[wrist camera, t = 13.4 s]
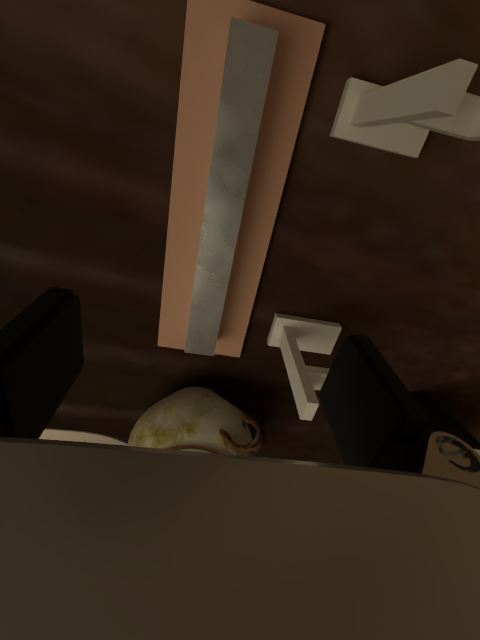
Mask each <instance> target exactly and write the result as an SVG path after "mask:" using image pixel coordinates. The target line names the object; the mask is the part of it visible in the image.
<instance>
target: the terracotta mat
mask: <svg viewBox="0 0 480 640" xmlns="http://www.w3.org/2000/svg"><path fill="white" fill-rule="evenodd" d="M231 17H234V18H238V19H241V20H244V21H248V22H251V23H254V24H258V25H261V26H264V27H268V28H271V29H274V30H278V31H279V34H278V39H277V44H276V49H275V54H274V59H273V64H272V69H271V74H270V79H269V84H268V89H267V93H266V98H265V103H264V108H263V113H262V118H261V123H260V128H259V133H258V138H257V143H256V148H255V153H254V158H253V163H252V168H251V173H250V178H249V183H248V188H247V193H246V198H245V203H244V208H243V213H242V218H241V223H240V228H239V233H238V238H237V243H236V248H235V253H234V258H233V263H232V268H231V272H230V277H229V282H228V287H227V292H226V297H225V302H224V307H223V312H222V317H221V322H220V327H219V332H218V337H217V342H216V347H215V352H214V354H219V355H227V356H234V357H240V354H241V350H242V346H243V342H244V338H245V335H246V331H247V327H248V323H249V319H250V315H251V311H252V308H253V304H254V300H255V296H256V292H257V288H258V284H259V281H260V277H261V273H262V269H263V265H264V261H265V257H266V253H267V250H268V246H269V242H270V238H271V234H272V230H273V226H274V223H275V219H276V215H277V211H278V207H279V203H280V199H281V196H282V192H283V188H284V184H285V180H286V176H287V172H288V168H289V165H290V161H291V157H292V153H293V149H294V145H295V141H296V138H297V134H298V130H299V126H300V122H301V118H302V114H303V110H304V107H305V103H306V99H307V95H308V91H309V87H310V83H311V80H312V76H313V72H314V68H315V64H316V60H317V56H318V53H319V49H320V45H321V41H322V37H323V33H324V29H325V25H326V24H323V23H320V22H317V21H314V20H311V19H307V18H304V17H301V16H298V15H295V14H291V13H288V12H285V11H282V10H279V9H276V8H272V7H269V6H266V5H263V4H260V3H256V2H253V1H250V0H188V2H187V13H186V25H185V36H184V48H183V59H182V71H181V82H180V94H179V105H178V117H177V129H176V140H175V152H174V163H173V175H172V186H171V198H170V209H169V221H168V232H167V244H166V255H165V267H164V278H163V290H162V301H161V313H160V324H159V336H158V346H163V347H170V348H177V349H184V350H185V344H186V337H187V330H188V323H189V316H190V308H191V301H192V294H193V287H194V280H195V272H196V265H197V258H198V251H199V244H200V237H201V229H202V222H203V215H204V208H205V201H206V194H207V186H208V179H209V172H210V165H211V158H212V151H213V143H214V136H215V129H216V122H217V115H218V108H219V100H220V93H221V86H222V79H223V72H224V64H225V57H226V50H227V43H228V36H229V29H230V21H231Z"/></svg>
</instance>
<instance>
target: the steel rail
mask: <svg viewBox="0 0 480 640" xmlns="http://www.w3.org/2000/svg"><path fill="white" fill-rule="evenodd" d="M278 34H279V31H278V30H274V29H271V28H268V27H264V26H261V25H258V24H254V23H251V22H248V21H244V20H241V19H238V18H234V17H231V21H230V29H229V36H228V43H227V50H226V57H225V64H224V72H223V79H222V86H221V93H220V100H219V108H218V115H217V122H216V129H215V136H214V143H213V151H212V158H211V165H210V172H209V179H208V186H207V194H206V201H205V208H204V215H203V222H202V229H201V237H200V244H199V251H198V258H197V265H196V272H195V280H194V287H193V294H192V301H191V308H190V316H189V323H188V330H187V337H186V344H185V351H184V352H187V353H194V354H202V355H209V356H214V352H215V347H216V342H217V337H218V332H219V327H220V322H221V317H222V312H223V307H224V302H225V297H226V292H227V287H228V282H229V277H230V272H231V268H232V263H233V258H234V253H235V248H236V243H237V238H238V233H239V228H240V223H241V218H242V213H243V208H244V203H245V198H246V193H247V188H248V183H249V178H250V173H251V168H252V163H253V158H254V153H255V148H256V143H257V138H258V133H259V128H260V123H261V118H262V113H263V108H264V103H265V98H266V93H267V89H268V84H269V79H270V74H271V69H272V64H273V59H274V54H275V49H276V44H277V39H278Z"/></svg>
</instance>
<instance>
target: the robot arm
mask: <svg viewBox="0 0 480 640" xmlns="http://www.w3.org/2000/svg"><path fill="white" fill-rule="evenodd" d="M83 362H84V357H83V343H82V329H81V315H80V301H79V297H78V296H77V295H74V293H73V291H72V290H68V289H62V288H56V287H51V288H49V289H48V290H47V291H46V292H45V293H43V294H42V295H41V296H40V297H39V298H37V299H36V300H35V301H34V302H33V303H32V304H30V305H29V306H28V307H27V308H26V309H24V310H23V311H22V312H21V313H20V314H19V315H17V316H16V317H15V318H14V319H13V320H11V321H10V322H9V323H8V324H7V325H6V326H4V327H3V328H2V329H1V330H0V640H480V455H479V454H478V453H477V452H476V451H475V450H474V449H473V448H472V447H471V446H469V445H468V444H467V443H466V442H464V441H463V440H461V439H459V438H458V437H456V436H454V435H452V434H449V433H445V432H438V431H436V432H434V433H432V434H430V432H429V431H428V427H429V426H430V425H431V423H432V422H431V421H430V420H429V418H428V417H427V416H426V414H425V413H424V412H423V410H422V409H421V408H420V406H419V405H418V403H417V402H416V401H415V399H414V398H413V397H412V395H411V394H410V393H409V391H408V390H407V389H406V387H405V386H404V385H403V383H402V382H401V380H400V379H399V378H398V376H397V375H396V374H395V372H394V371H393V370H392V368H391V367H390V366H389V364H388V363H387V361H386V360H385V359H384V357H383V356H382V355H381V353H380V352H379V351H378V349H377V348H376V347H375V345H374V344H373V343H372V341H371V340H370V338H368V337H367V336H361V335H354V334H352V335H350V336H349V337H346V338H345V339H344V340H343V342H342V344H341V346H340V349H339V351H338V353H337V355H336V357H335V359H334V361H333V364H332V366H331V368H330V370H329V372H328V374H327V377H326V379H325V381H324V383H323V385H322V387H321V390H320V401H321V403H322V406H323V409H324V411H325V414H326V417H327V419H328V422H329V425H330V427H331V430H332V433H333V435H334V438H335V441H336V443H337V446H338V449H339V451H340V454H341V457H342V460H343V462H344V465H339V464H328V463H318V462H307V461H296V460H286V459H275V458H264V457H252V456H241V455H230V454H218V453H207V452H195V451H184V450H172V449H160V448H148V447H136V446H124V445H110V444H99V443H87V442H73V441H59V440H44V439H39V437H40V436H41V434H42V432H43V431H44V429H45V428H46V426H47V424H48V423H49V421H50V420H51V418H52V416H53V415H54V413H55V412H56V410H57V408H58V407H59V405H60V403H61V402H62V400H63V399H64V397H65V395H66V394H67V392H68V391H69V389H70V387H71V386H72V384H73V383H74V381H75V379H76V378H77V376H78V374H79V373H80V371H81V369H82V367H83Z"/></svg>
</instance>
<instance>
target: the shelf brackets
mask: <svg viewBox="0 0 480 640" xmlns="http://www.w3.org/2000/svg"><path fill="white" fill-rule="evenodd" d="M477 67H478V64H475V63H472V62H469V61H466V60H463V59H460V58H459V59H457V60H454V61H451V62H449V63H446V64H443V65H441V66H438V67H435V68H432V69H430V70H427V71H424V72H422V73H419V74H416V75H414V76H411V77H408V78H406V79H403V80H400V81H397V82H395V83H392V84H389V85H387V86H384V87H383V86H380V85H376V84H373V83H370V82H366V81H363V80H359V79H356V78H352V77H351V78H349V79H347V81H346V84H345V88H344V91H343V94H342V98H341V101H340V104H339V107H338V111H337V114H336V117H335V120H334V124H333V127H332V130H331V134H330V137H334V138H338V139H342V140H346V141H350V142H354V143H358V144H361V145H365V146H369V147H373V148H377V149H381V150H385V151H389V152H392V153H396V154H400V155H404V156H408V157H413V158H418V156H419V153H420V151H421V149H422V147H423V144H424V142H425V140H426V138H427V135H428V133H429V131H430V130H431V131H435V132H439V133H442V134H446V135H450V136H453V137H457V138H460V139H464V140H468V141H480V96H477V95H473V94H470V93H467V92H466V90H467V88H468V86H469V84H470V81H471V79H472V77H473V75H474V73H475V71H476V69H477ZM341 329H342V327H341V325H340V324H339V323H334V322H328V321H322V320H316V319H310V318H303V317H297V316H291V315H285V314H279V313H276V314H275V317H274V320H273V323H272V327H271V330H270V333H269V337H268V340H267V342H268V345H269V346H275V347H280V348H281V351H282V355H283V359H284V362H285V366H286V369H287V373H288V377H289V380H290V384H291V388H292V391H293V395H294V398H295V402H296V406H297V409H298V413H299V417H300V419H301V420H310V421H311V420H312V418H313V416H314V414H315V412H316V410H317V408H318V405H319V402H318V399H317V397H316V394H315V391H314V390H321V387H322V385H323V383H324V381H325V379H326V377H327V374H328V372H329V370H330V369H328V368H321V367H314V366H307V365H305V364H304V361H303V358H302V355H301V353H300V350H302V351H309V352H316V353H323V354H329V355H330V354H331V352H332V349H333V347H334V345H335V343H336V340H337V338H338V336H339V334H340V331H341Z"/></svg>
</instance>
